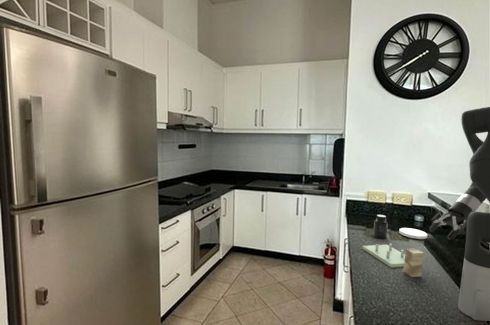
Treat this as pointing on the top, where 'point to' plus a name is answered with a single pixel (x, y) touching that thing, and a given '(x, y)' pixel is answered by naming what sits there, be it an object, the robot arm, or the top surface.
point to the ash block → (413, 262)
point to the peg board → (387, 254)
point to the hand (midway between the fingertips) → (439, 234)
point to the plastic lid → (413, 233)
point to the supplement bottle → (380, 227)
